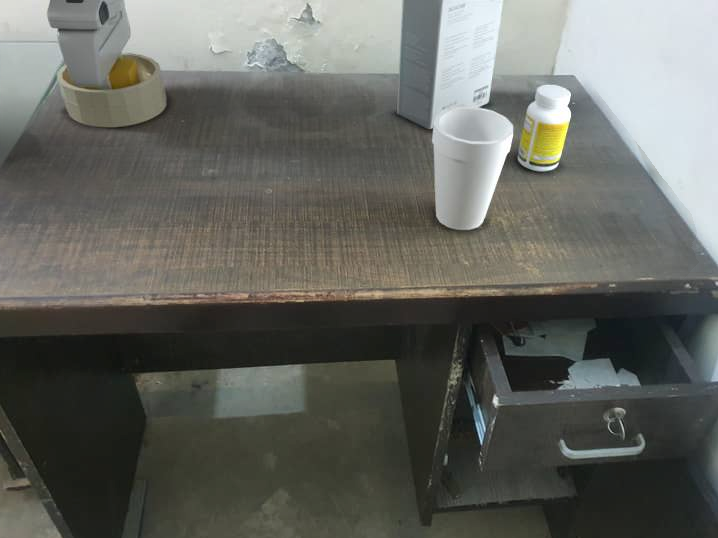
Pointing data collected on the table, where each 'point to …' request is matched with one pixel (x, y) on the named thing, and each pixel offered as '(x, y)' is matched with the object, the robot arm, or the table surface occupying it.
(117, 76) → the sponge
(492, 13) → the hard drive box
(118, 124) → the bowl
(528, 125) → the pill bottle
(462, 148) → the foam cup
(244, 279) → the table surface
